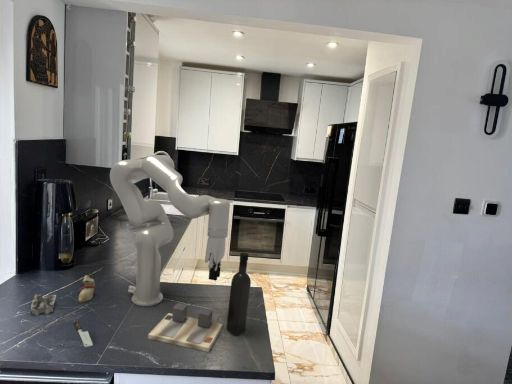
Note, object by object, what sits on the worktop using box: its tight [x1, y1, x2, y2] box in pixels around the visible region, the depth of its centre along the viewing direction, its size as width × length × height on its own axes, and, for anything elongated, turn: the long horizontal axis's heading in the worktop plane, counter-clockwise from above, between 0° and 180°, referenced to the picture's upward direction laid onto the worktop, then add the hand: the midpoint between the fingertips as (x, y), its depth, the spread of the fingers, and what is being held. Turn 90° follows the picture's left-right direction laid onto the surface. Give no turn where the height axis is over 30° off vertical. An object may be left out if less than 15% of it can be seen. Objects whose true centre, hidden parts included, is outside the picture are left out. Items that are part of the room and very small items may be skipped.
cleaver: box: [73, 320, 93, 348], centre depth 116 cm, size 17×1×5 cm
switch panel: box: [147, 312, 223, 353], centre depth 121 cm, size 22×15×2 cm
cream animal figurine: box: [78, 275, 96, 304], centre depth 137 cm, size 6×8×10 cm
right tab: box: [197, 307, 213, 328], centre depth 123 cm, size 4×4×5 cm
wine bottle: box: [225, 252, 252, 336], centre depth 123 cm, size 6×6×30 cm
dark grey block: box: [172, 302, 188, 322], centre depth 125 cm, size 4×4×5 cm
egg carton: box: [30, 293, 57, 316], centre depth 128 cm, size 11×8×4 cm
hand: (214, 277), depth 128 cm, fingers open, 2 cm apart
